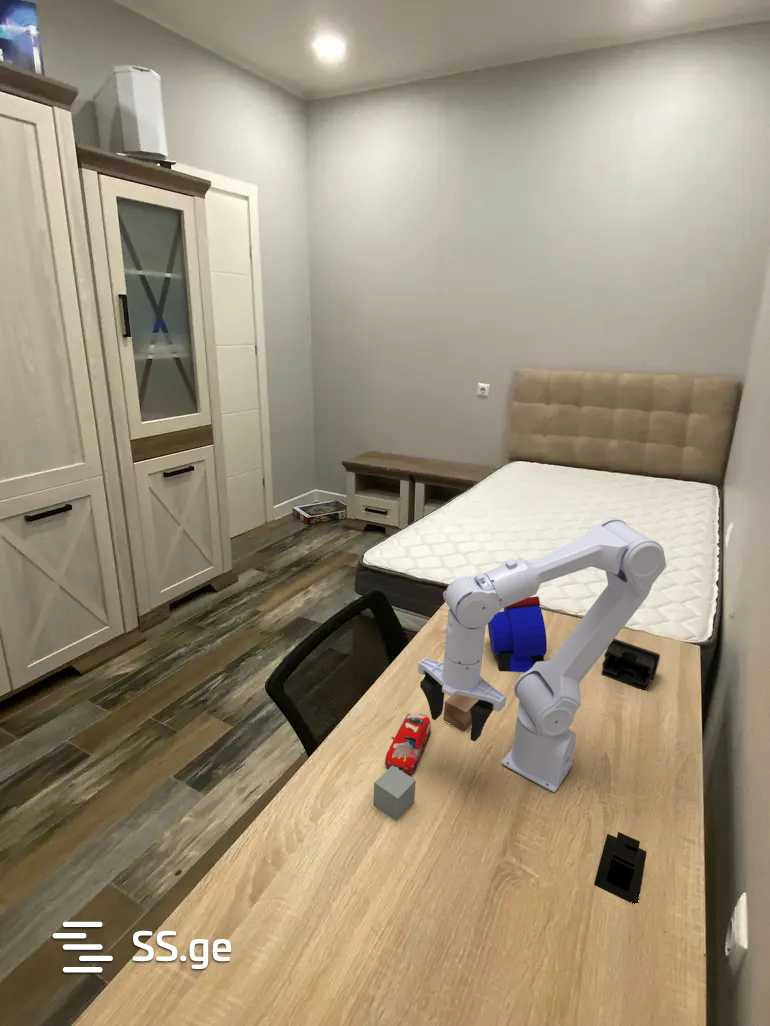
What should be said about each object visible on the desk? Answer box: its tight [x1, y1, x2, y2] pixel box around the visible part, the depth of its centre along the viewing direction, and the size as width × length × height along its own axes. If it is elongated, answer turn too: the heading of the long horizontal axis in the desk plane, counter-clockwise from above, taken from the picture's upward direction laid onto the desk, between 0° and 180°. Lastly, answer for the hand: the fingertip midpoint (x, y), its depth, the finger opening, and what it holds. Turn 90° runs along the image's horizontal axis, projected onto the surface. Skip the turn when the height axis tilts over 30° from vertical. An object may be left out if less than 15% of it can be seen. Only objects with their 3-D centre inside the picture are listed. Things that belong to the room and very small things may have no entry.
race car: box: [384, 711, 431, 775], centre depth 97 cm, size 13×5×4 cm, turn 158°
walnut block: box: [442, 694, 478, 733], centre depth 105 cm, size 4×4×4 cm
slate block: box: [372, 765, 417, 822], centre depth 86 cm, size 4×4×4 cm
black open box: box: [593, 831, 648, 905], centre depth 78 cm, size 12×7×5 cm, turn 149°
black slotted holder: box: [601, 638, 661, 692], centre depth 120 cm, size 10×7×7 cm
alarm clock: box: [487, 595, 548, 673], centre depth 123 cm, size 12×12×15 cm
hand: (455, 726), depth 90 cm, fingers open, 7 cm apart
